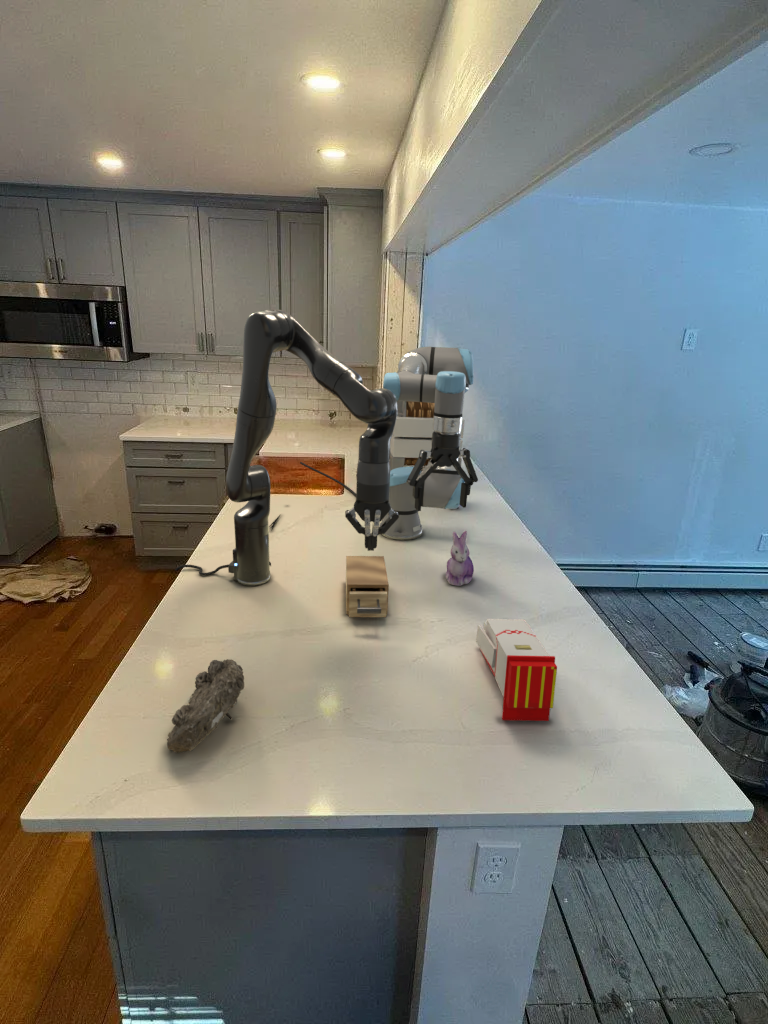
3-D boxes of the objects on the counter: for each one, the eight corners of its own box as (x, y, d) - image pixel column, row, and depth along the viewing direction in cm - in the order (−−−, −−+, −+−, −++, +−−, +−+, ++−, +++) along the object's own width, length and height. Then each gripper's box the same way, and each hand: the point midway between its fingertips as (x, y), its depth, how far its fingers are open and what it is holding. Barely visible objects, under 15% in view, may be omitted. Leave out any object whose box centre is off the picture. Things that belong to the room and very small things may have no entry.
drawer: (387, 629, 138) (389, 605, 136) (349, 629, 138) (349, 605, 135) (381, 587, 159) (382, 565, 157) (348, 587, 158) (348, 565, 156)
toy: (523, 604, 135) (566, 662, 106) (518, 656, 138) (559, 727, 109) (472, 603, 135) (501, 661, 105) (468, 655, 138) (496, 726, 108)
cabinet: (387, 614, 147) (388, 584, 144) (346, 614, 146) (347, 584, 143) (382, 583, 163) (383, 556, 160) (345, 583, 162) (346, 555, 159)
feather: (288, 508, 223) (290, 504, 222) (270, 532, 196) (273, 528, 196) (284, 506, 223) (286, 502, 222) (266, 530, 196) (268, 525, 195)
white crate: (382, 463, 289) (386, 382, 275) (445, 464, 293) (451, 384, 279) (390, 482, 257) (394, 392, 243) (460, 483, 261) (468, 394, 247)
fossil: (192, 660, 117) (244, 628, 112) (224, 691, 120) (276, 661, 115) (142, 746, 98) (202, 712, 93) (182, 779, 101) (242, 748, 96)
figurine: (455, 589, 161) (460, 541, 156) (436, 574, 170) (440, 528, 165) (482, 583, 166) (487, 536, 160) (462, 569, 174) (466, 524, 169)
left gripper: (344, 483, 124) (342, 555, 130) (404, 484, 125) (399, 556, 131) (343, 473, 131) (342, 542, 137) (400, 475, 132) (396, 543, 138)
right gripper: (407, 436, 142) (402, 515, 150) (495, 433, 150) (487, 509, 157) (397, 430, 149) (393, 506, 156) (482, 428, 157) (474, 500, 164)
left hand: (370, 549), depth 134 cm, fingers closed
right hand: (440, 507), depth 157 cm, fingers open, 13 cm apart
